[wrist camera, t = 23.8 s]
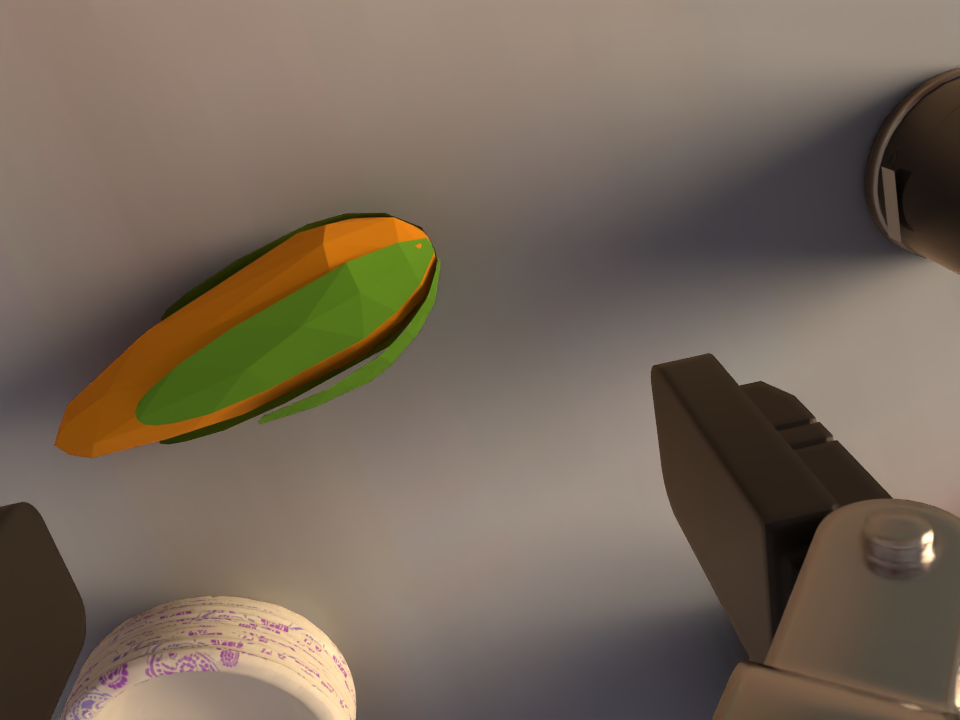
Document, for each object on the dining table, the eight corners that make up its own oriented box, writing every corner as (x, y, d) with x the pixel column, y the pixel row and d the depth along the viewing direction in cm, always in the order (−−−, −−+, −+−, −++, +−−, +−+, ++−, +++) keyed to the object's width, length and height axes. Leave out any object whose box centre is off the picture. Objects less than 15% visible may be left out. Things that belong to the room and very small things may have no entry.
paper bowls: (209, 510, 47) (180, 606, 40) (410, 656, 53) (416, 763, 45) (34, 677, 50) (-23, 795, 43) (241, 798, 56) (221, 920, 48)
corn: (481, 346, 37) (83, 559, 39) (469, 297, 44) (133, 478, 46) (393, 191, 34) (-29, 425, 36) (395, 165, 41) (43, 362, 43)
